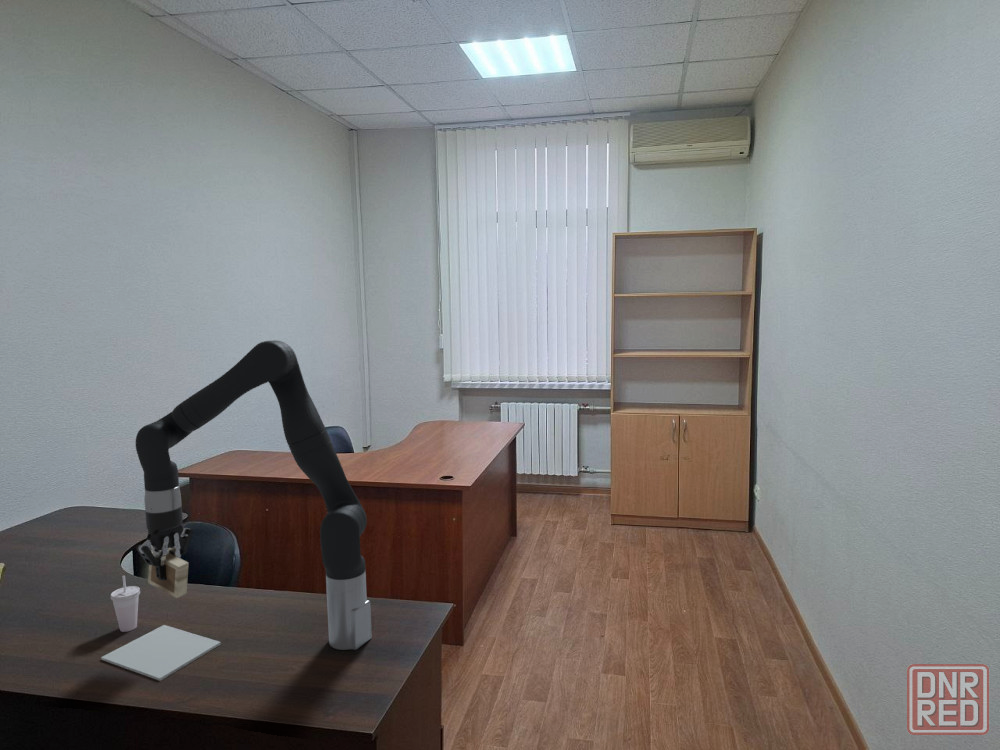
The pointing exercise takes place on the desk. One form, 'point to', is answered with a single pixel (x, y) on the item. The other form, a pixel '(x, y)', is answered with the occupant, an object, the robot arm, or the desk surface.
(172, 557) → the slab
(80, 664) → the desk surface
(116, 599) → the smoothie
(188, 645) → the mat
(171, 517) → the robot arm
